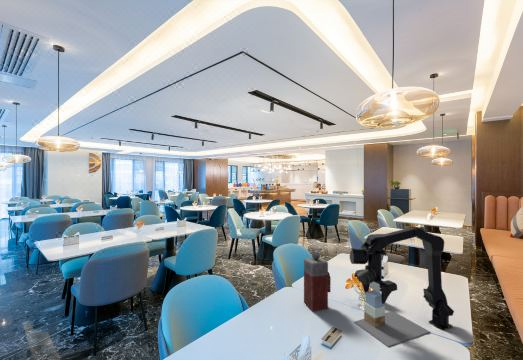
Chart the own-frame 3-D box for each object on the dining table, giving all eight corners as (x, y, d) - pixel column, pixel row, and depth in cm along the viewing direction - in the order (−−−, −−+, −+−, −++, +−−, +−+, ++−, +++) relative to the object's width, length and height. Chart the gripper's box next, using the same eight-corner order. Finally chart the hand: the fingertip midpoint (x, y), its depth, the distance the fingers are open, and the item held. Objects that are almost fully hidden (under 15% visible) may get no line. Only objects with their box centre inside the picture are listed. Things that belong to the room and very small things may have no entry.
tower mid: (374, 308, 116) (374, 300, 116) (385, 315, 111) (385, 306, 111) (364, 311, 114) (364, 302, 114) (374, 318, 109) (374, 308, 109)
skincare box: (376, 298, 136) (376, 276, 136) (380, 302, 131) (380, 279, 131) (365, 299, 135) (365, 276, 135) (369, 302, 131) (369, 279, 131)
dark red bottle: (332, 308, 126) (332, 251, 126) (311, 311, 122) (312, 253, 122) (322, 300, 134) (323, 247, 134) (303, 302, 131) (303, 248, 131)
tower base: (374, 317, 116) (374, 308, 116) (385, 324, 111) (385, 315, 111) (364, 320, 114) (364, 311, 114) (374, 327, 109) (374, 318, 109)
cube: (374, 300, 116) (374, 290, 116) (383, 305, 111) (383, 294, 111) (365, 303, 114) (365, 291, 114) (374, 308, 109) (374, 296, 109)
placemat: (392, 311, 122) (392, 310, 122) (429, 332, 106) (429, 331, 106) (353, 322, 113) (353, 321, 113) (388, 347, 97) (388, 346, 97)
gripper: (345, 260, 118) (345, 293, 118) (378, 273, 101) (378, 312, 101) (364, 257, 122) (364, 289, 122) (398, 269, 105) (398, 307, 105)
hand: (374, 299), depth 112 cm, fingers open, 9 cm apart
